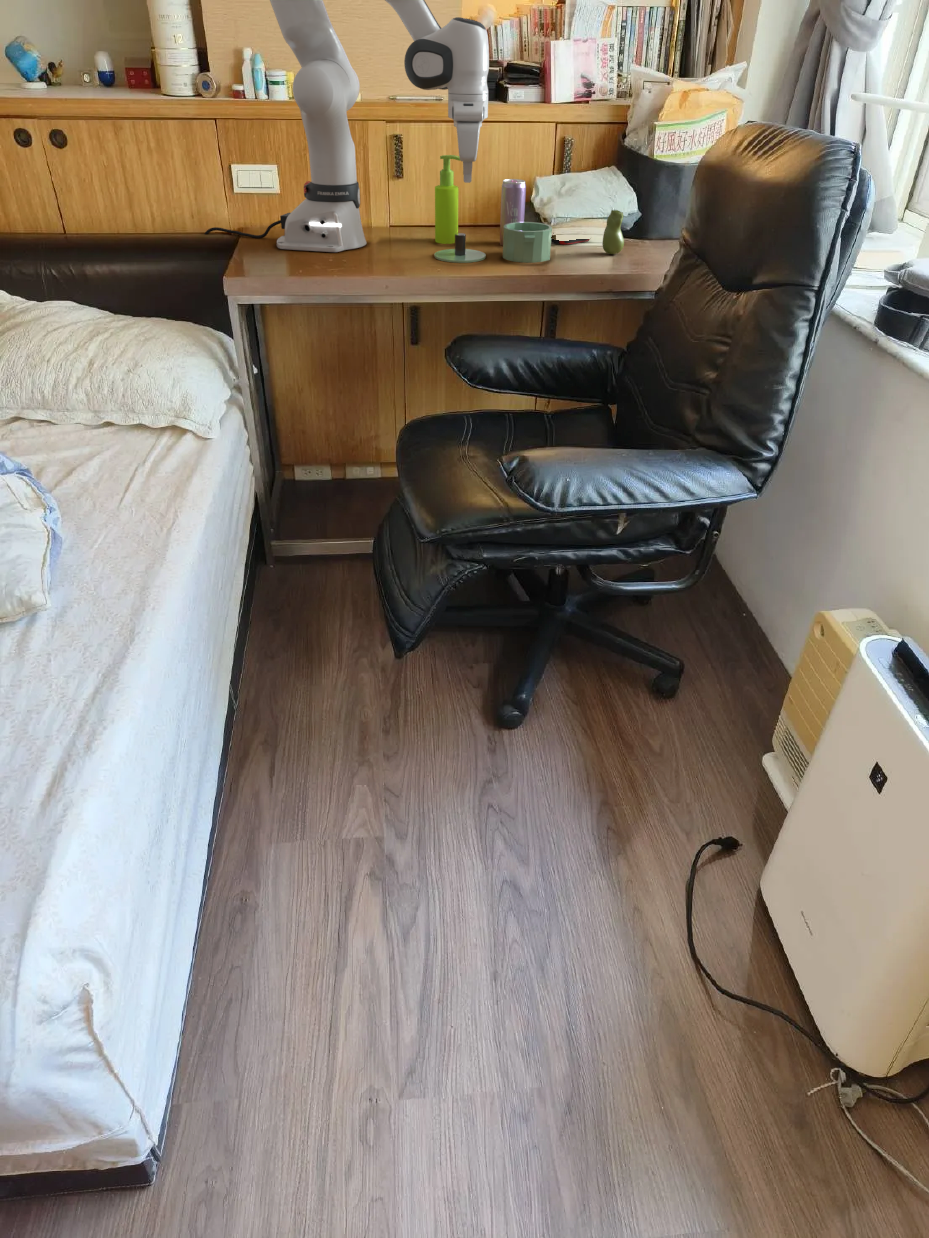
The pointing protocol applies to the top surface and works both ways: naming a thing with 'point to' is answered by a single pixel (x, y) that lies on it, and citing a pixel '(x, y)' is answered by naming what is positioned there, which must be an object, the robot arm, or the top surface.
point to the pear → (613, 233)
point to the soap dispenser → (446, 204)
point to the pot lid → (460, 252)
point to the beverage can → (512, 203)
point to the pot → (526, 242)
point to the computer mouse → (569, 241)
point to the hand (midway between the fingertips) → (467, 179)
